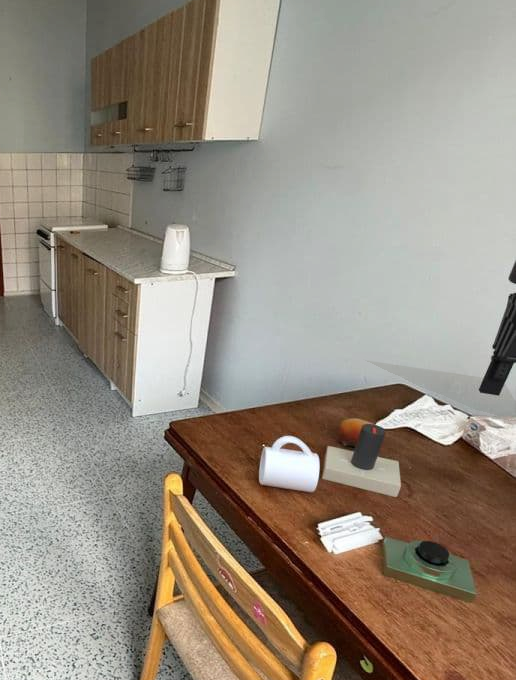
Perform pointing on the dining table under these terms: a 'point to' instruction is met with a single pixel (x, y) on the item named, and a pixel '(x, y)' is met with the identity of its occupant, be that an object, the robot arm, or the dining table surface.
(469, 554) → the dining table surface
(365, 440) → the dark grey cylinder
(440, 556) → the button
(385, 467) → the panel
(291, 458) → the mug
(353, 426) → the fruit
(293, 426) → the dining table surface
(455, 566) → the button box
